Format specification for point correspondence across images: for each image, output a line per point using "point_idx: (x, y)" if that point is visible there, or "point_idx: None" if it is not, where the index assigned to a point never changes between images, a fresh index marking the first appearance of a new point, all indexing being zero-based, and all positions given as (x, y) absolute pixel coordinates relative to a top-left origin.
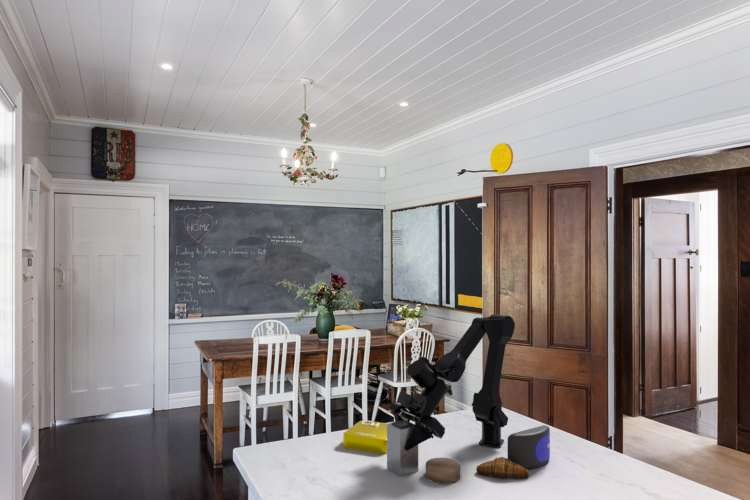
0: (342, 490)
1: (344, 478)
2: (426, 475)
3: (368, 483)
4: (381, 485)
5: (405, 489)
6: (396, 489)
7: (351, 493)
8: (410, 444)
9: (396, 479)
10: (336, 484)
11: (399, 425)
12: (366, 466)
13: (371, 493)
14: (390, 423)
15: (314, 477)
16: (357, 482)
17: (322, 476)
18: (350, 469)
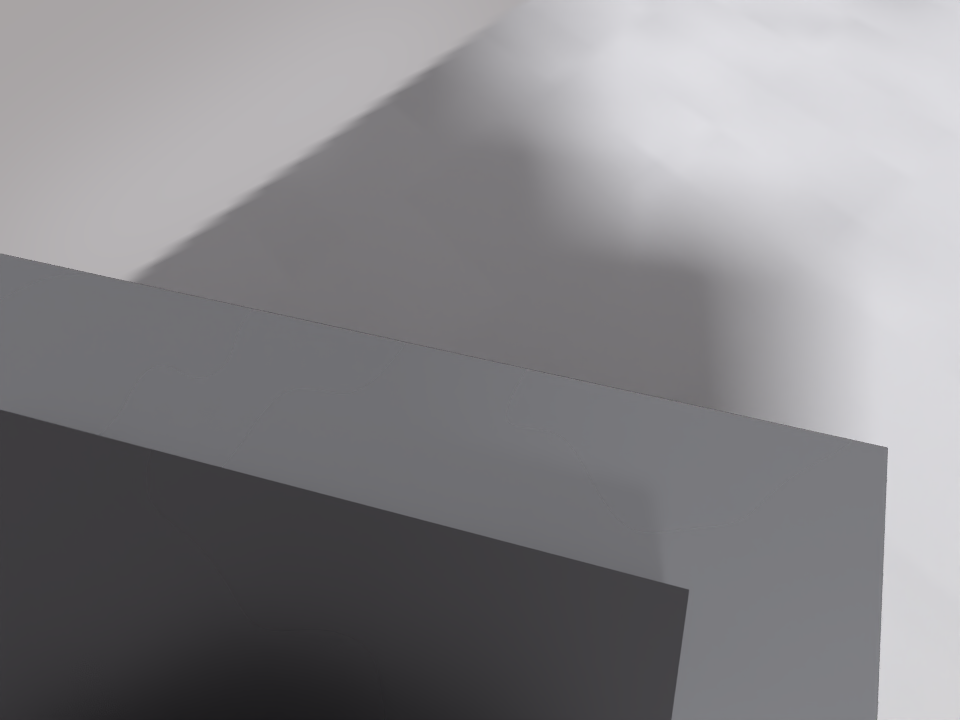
0: (568, 17)
1: (730, 140)
2: None
3: (502, 205)
4: (388, 249)
5: None
6: (238, 278)
7: (482, 29)
8: None
9: None
10: (682, 43)
11: (33, 438)
12: None
13: (365, 113)
14: (813, 619)
15: (915, 9)
16: (587, 161)
17: (891, 54)
18: (866, 293)
